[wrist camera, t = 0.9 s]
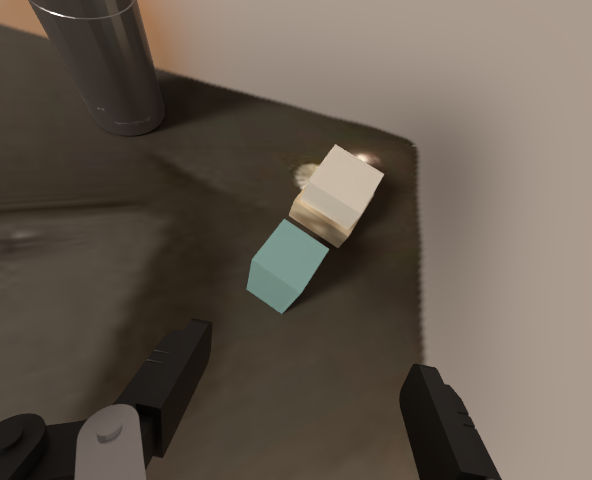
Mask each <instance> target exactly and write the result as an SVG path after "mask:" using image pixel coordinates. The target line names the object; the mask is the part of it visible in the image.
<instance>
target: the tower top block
mask: <svg viewBox="0 0 592 480" xmlns="http://www.w3.org/2000/svg"><path fill="white" fill-rule="evenodd" d="M383 175H384V174H383V173H381V172H380V171H378V170H376V169H375V168H373V167H371V166H370V165H368V164H366V163H365V162H363V161H362V160H360V159H358V158H357V157H355V156H353V155H352V154H350V153H349V152H347V151H345V150H344V149H342V148H340V147H339V146H337V145H335V146H334V147H333V148H332V150H331V151H330V152H329V154H328V155H327V156H326V158H325V159H324V160H323V162H322V163H321V164H320V166H319V167H318V168H317V170H316V171H315V172H314V174H313V175H312V176H311V178H310V179H309V180H308V182H307V185H306V187H305V190H304V192H303V195H302V197H301V199H300V200H301V201H303V202H304V203H306V204H307V205H309V206H310V207H312V208H314V209H315V210H317V211H318V212H320V213H322V214H323V215H325V216H326V217H328V218H330V219H331V220H333V221H334V222H336V223H338V224H339V225H341V226H342V227H344V228H345V229H347V230H349V229H350V227H351V226H352V225H353V224H354V223H355V221H356V220H357V219H358V218H359V217H360V216H361V214H362V213H363V211H364V209H365V207H366V206H367V204H368V202H369V200H370V198H371V197H372V195H373V193H374V191H375V190H376V188H377V186H378V184H379V182H380V181H381V179H382V177H383Z"/></svg>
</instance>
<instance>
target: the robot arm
mask: <svg viewBox="0 0 592 480" xmlns="http://www.w3.org/2000/svg"><path fill="white" fill-rule="evenodd" d="M28 1H29V3H30V4H31V6H32V8H33V10H34V12H35V13H36V15H37V17H38V19H39V21H40V23H41V24H42V26H43V28H44V30H45V32H46V33H47V35H48V37H49V39H50V41H51V42H52V44H53V46H54V48H55V50H56V51H57V53H58V55H59V57H60V59H61V60H62V62H63V64H64V66H65V68H66V69H67V71H68V73H69V75H70V77H71V78H72V80H73V82H74V84H75V86H76V88H77V89H78V91H79V93H80V95H81V97H82V99H83V100H84V102H85V104H86V106H87V108H88V109H89V111H90V113H91V115H92V117H93V118H94V120H95V121H96V123H97V124H98V125H99V126H100V127H101V128H103V129H104V130H106V131H108V132H111V133H114V134H117V135H123V136H135V135H141V134H145V133H148V132H150V131H152V130H154V129H155V128H157V127H158V126H159V125H160V124H161V123H162V121H163V119H164V117H165V106H164V103H163V99H162V95H161V91H160V87H159V83H158V79H157V75H156V71H155V67H154V64H153V60H152V56H151V52H150V48H149V44H148V41H147V37H146V33H145V29H144V25H143V22H142V18H141V14H140V10H139V6H138V2H137V0H28ZM211 339H212V322H208V321H203V320H198V319H192V320H191V321H190V322H189V324H188V325H187V327H186V328H185V330H184V331H181V330H176V329H175V330H173V331H172V332H171V333H169V334H168V335H166V336H165V337H163V338H162V340H161V341H160V342H159V344H158V345H157V346H156V348H155V349H154V352H152V353H151V354H150V356H149V357H148V358H147V361H145V362H144V364H143V365H142V367H141V368H140V369H139V371H138V372H137V373H136V375H135V376H134V377H133V379H132V380H131V381H130V383H129V384H128V385H127V387H126V388H125V389H124V391H123V392H122V394H121V395H120V396H119V398H118V399H117V400H116V401H115V402H114V403H113V404H112V405H111V406H108V407H106V408H103V409H102V410H100V411H98V412H97V413H95V414H94V415H93V416H91V417H90V418H89V419H87V420H83V421H78V422H71V423H63V424H55V425H48V426H46V425H45V422H44V420H43V418H42V417H40V416H39V415H36V414H20V415H16V416H13V417H10V418H8V419H5V420H3V421H1V422H0V480H146V475H145V470H146V468H147V466H148V464H149V462H150V460H151V458H152V456H155V457H160V458H163V457H164V455H165V453H166V451H167V448H168V446H169V444H170V442H171V440H172V438H173V436H174V434H175V432H176V429H177V427H178V425H179V423H180V421H181V419H182V417H183V415H184V413H185V411H186V408H187V406H188V404H189V402H190V400H191V398H192V396H193V394H194V392H195V390H196V387H197V385H198V383H199V381H200V379H201V377H202V375H203V373H204V371H205V368H206V366H207V364H208V361H209V357H210V352H211ZM399 401H400V408H401V412H402V416H403V419H404V423H405V427H406V430H407V434H408V438H409V441H410V445H411V449H412V452H413V456H414V460H415V463H416V467H417V471H418V474H419V478H420V480H502V479H501V477H500V475H499V473H498V471H497V469H496V467H495V465H494V463H493V461H492V459H491V457H490V455H489V454H488V451H487V449H486V448H485V446H484V443H483V441H482V440H481V437H480V435H479V433H478V432H477V430H476V429H475V426H474V424H473V421H472V419H471V417H469V416H468V411H467V409H466V407H465V406H464V404H463V402H462V400H461V398H460V397H459V396H458V395H457V393H456V392H455V391H454V390H453V389H452V388H451V387H450V385H446V384H444V383H443V380H442V378H441V376H440V374H439V372H438V370H437V369H436V368H435V367H430V366H425V365H420V364H413V365H412V367H411V369H410V371H409V373H408V376H407V378H406V380H405V382H404V384H403V386H402V388H401V391H400V398H399Z"/></svg>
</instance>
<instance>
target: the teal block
mask: <svg viewBox="0 0 592 480" xmlns="http://www.w3.org/2000/svg"><path fill="white" fill-rule="evenodd" d="M328 250H329V249H328V248H327V247H325V246H324V245H323V244H321V243H320V242H318V241H317V240H315V239H314V238H312V237H311V236H309V235H308V234H306V233H305V232H303V231H302V230H300V229H299V228H297V227H296V226H294V225H293V224H291V223H290V222H288V221H287V220H285V219H284V220H283V221H282V222H281V224H280V225H279V226H278V227H277V229H276V230H275V231H274V232H273V234H272V235H271V236H270V238H269V239H268V240H267V241H266V243H265V244H264V245H263V246H262V248H261V249H260V250H259V251H258V253H257V254H256V255H255V256H254V258H253V259H252V263H251V268H250V274H249V279H248V284H247V290H248V291H250V292H251V293H253V294H254V295H255V296H257V297H258V298H260V299H261V300H263V301H264V302H265V303H267V304H268V305H270V306H271V307H273V308H274V309H275V310H277V311H278V312H280V313H281V314H282V313H283V312H284V311H285V310H286V309H287V308H288V307H289V306H290V305H291V304H292V303H293V302H294V300H295V299H296V298H297V297H298V296H299V295H300V294H301V293H302V291H303V290H304V288H305V287H306V285H307V283H308V282H309V280H310V279H311V277H312V276H313V274H314V272H315V271H316V269H317V268H318V266H319V265H320V263H321V261H322V260H323V258H324V257H325V255H326V254H327V252H328Z"/></svg>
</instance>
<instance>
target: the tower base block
mask: <svg viewBox="0 0 592 480" xmlns="http://www.w3.org/2000/svg"><path fill="white" fill-rule="evenodd" d="M305 187H306V186H305ZM304 190H305V188H304V189H303V190H302V191H301V193H300V194H299V195H298V196H297V198H296V199H295V200H294V202H293V205H292V208H291V210H290V213H289V216H290V217H292V218H293V219H295V220H296V221H298V222H299V223H301V224H302V225H304V226H305V227H307V228H308V229H310V230H311V231H313V232H314V233H316V234H317V235H319V236H320V237H322V238H323V239H325V240H326V241H328V242H329V243H331V244H332V245H334V246H335V247H337V248H339V247H340V246H341V244H342V243H343V242H344V241H345V240H346V239H347V238H348V237H349V235H350V233H351V232H352V230H353V228H354V227H355V225H356V224H357V222H358V220H359V219H360V217H361V216H360V217H359V218H358V219H357V220H356V221H355V223H354V224H353V225H352V226H351V227H350V229H349V230H347V229H345V228H344V227H342V226H341V225H339V224H338V223H336V222H334V221H333V220H331V219H330V218H328V217H326V216H325V215H323V214H322V213H320V212H318V211H317V210H315V209H314V208H312V207H310V206H309V205H307V204H306V203H304V202H303V201H301V200H300V199H301V197H302V195H303V192H304ZM373 196H374V194H373V195H372V197H373ZM372 197H371V198H370V200H369V202H370V201H371V199H372ZM369 202H368V204H369ZM368 204H367V205H368ZM366 207H367V206H366ZM366 207H365V209H366ZM365 209H364V210H365ZM363 212H364V211H363ZM362 214H363V213H362ZM362 214H361V215H362Z"/></svg>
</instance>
